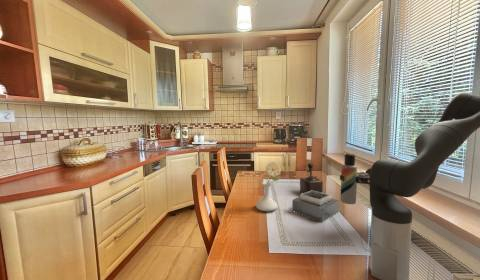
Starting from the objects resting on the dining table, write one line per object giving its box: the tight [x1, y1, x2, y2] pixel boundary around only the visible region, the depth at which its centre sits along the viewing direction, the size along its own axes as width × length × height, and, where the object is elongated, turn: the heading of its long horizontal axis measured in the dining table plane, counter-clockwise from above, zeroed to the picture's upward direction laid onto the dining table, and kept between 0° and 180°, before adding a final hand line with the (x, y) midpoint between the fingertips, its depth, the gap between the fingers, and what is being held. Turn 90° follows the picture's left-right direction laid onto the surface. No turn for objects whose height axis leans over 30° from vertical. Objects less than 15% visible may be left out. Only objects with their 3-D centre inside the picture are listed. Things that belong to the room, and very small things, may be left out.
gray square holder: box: [291, 190, 340, 223], centre depth 104 cm, size 16×16×9 cm
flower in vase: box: [255, 161, 282, 212], centre depth 107 cm, size 13×11×25 cm
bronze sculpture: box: [299, 162, 324, 194], centre depth 133 cm, size 16×11×18 cm
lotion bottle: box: [340, 153, 358, 205], centre depth 85 cm, size 6×6×20 cm
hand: (341, 178), depth 85 cm, fingers closed on lotion bottle, 1 cm apart
